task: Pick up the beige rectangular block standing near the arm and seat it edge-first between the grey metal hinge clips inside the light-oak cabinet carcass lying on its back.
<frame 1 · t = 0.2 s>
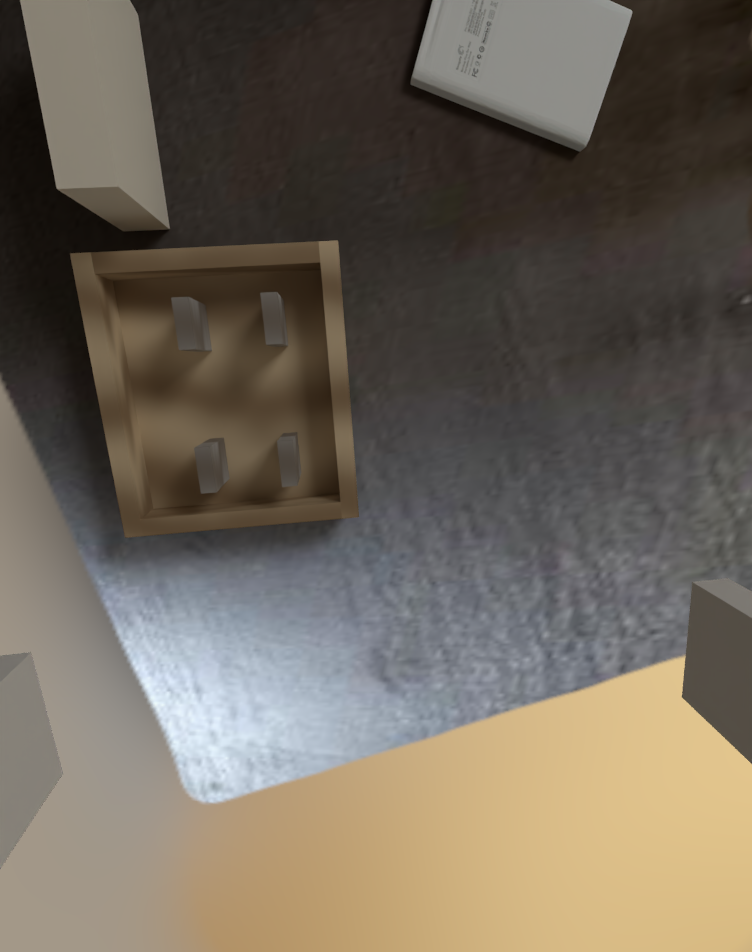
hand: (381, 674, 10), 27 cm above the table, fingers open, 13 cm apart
external hard drive: (513, 58, 32), on the table
carcass: (236, 393, 35), on the table
beige rectangular block: (130, 128, 31), on the table
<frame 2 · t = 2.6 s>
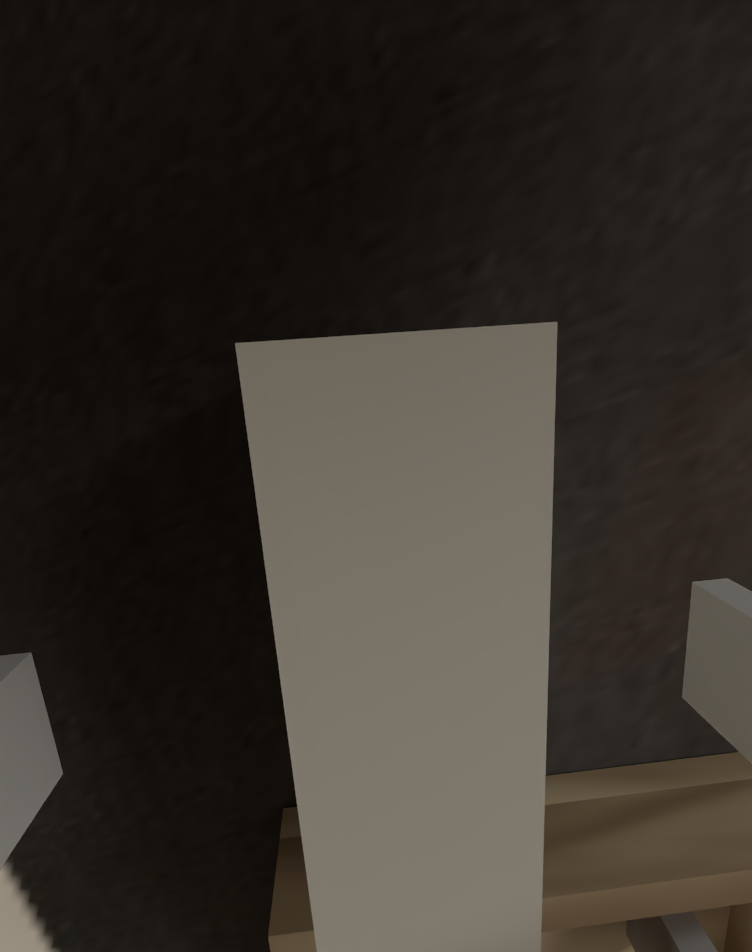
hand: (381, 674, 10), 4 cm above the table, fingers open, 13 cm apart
beige rectangular block: (375, 564, 14), on the table
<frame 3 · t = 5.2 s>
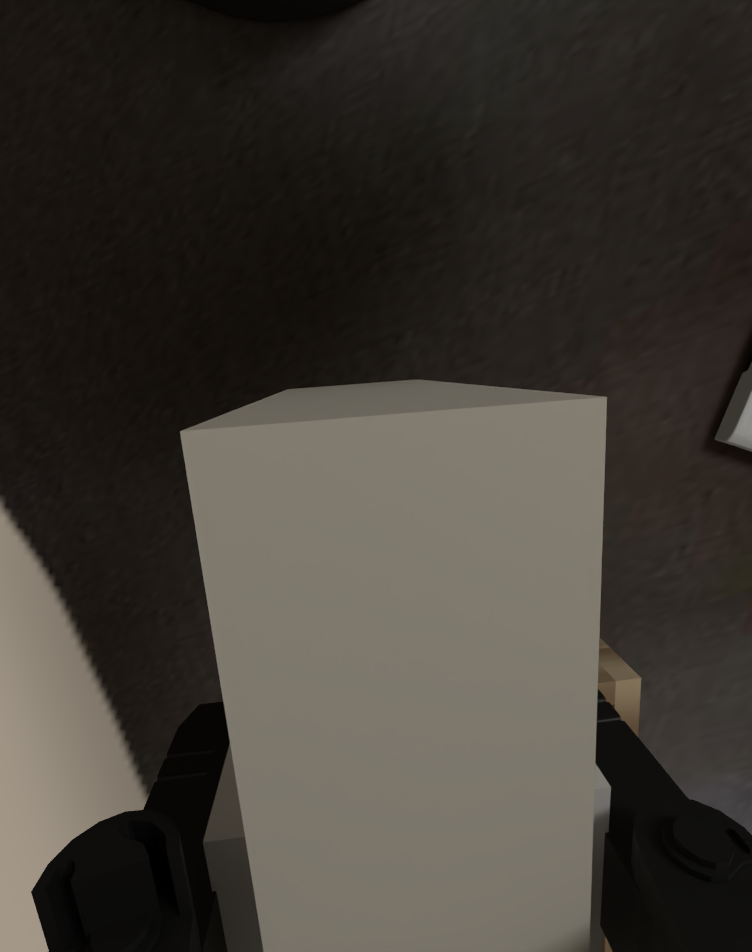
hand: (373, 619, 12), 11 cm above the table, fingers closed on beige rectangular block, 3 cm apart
carcass: (454, 801, 27), on the table
beige rectangular block: (372, 620, 12), point 10 cm above the table, touching gripper
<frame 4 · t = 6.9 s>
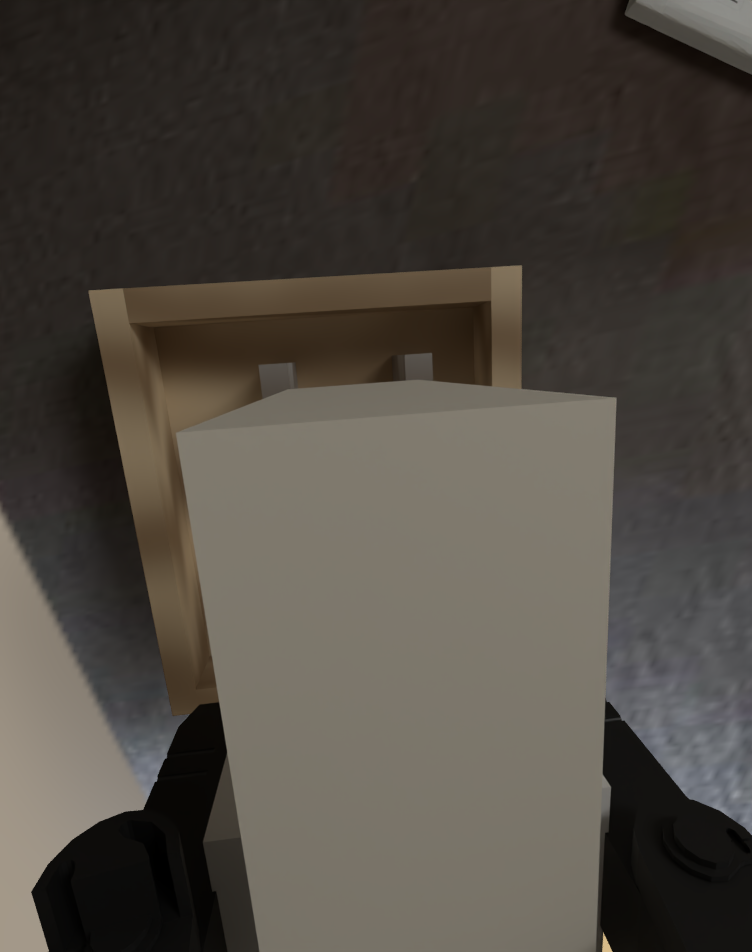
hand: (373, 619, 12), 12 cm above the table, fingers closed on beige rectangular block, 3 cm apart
carcass: (333, 487, 23), on the table
beige rectangular block: (372, 622, 12), point 12 cm above the table, touching gripper
when the fingers open (3 cm above the table, at t = 8.8 s): beige rectangular block drops 1 cm, resting on carcass.
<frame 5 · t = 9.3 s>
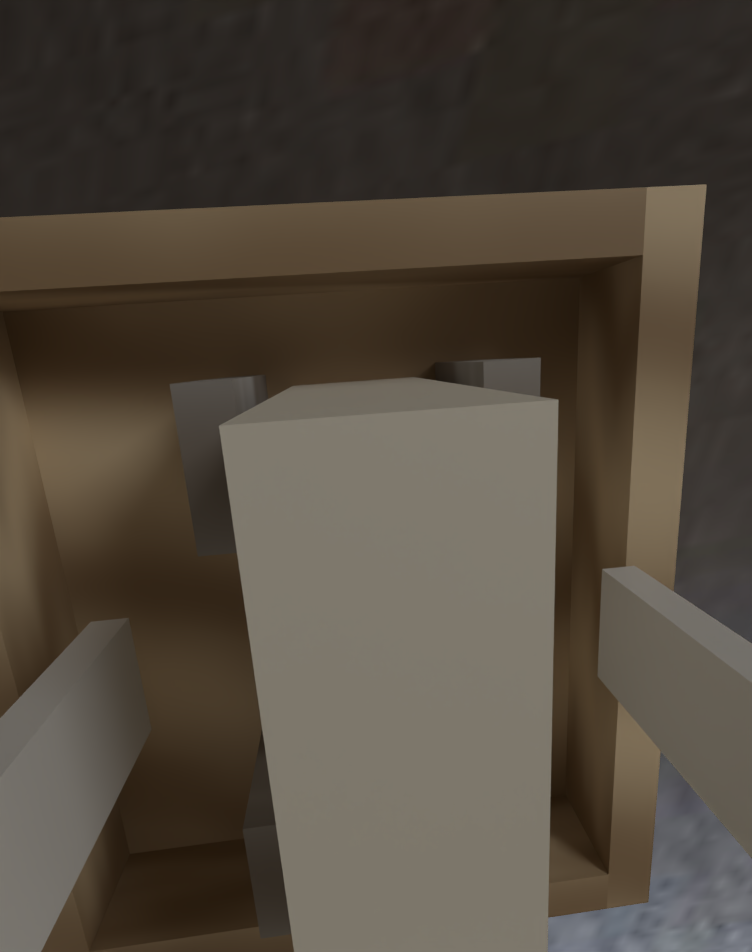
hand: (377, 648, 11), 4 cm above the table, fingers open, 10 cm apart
carcass: (332, 578, 14), on the table
beige rectangular block: (370, 601, 13), point 1 cm above the table, touching carcass
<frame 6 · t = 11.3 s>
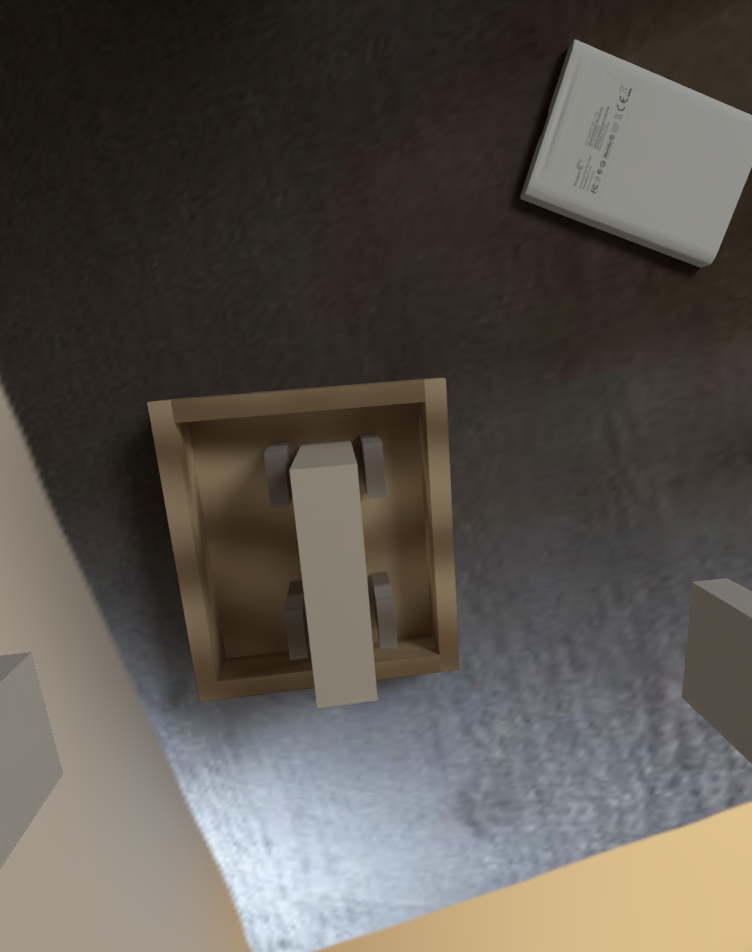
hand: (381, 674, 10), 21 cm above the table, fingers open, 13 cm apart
external hard drive: (630, 168, 29), on the table
carcass: (318, 528, 31), on the table
beige rectangular block: (335, 536, 30), point 1 cm above the table, touching carcass
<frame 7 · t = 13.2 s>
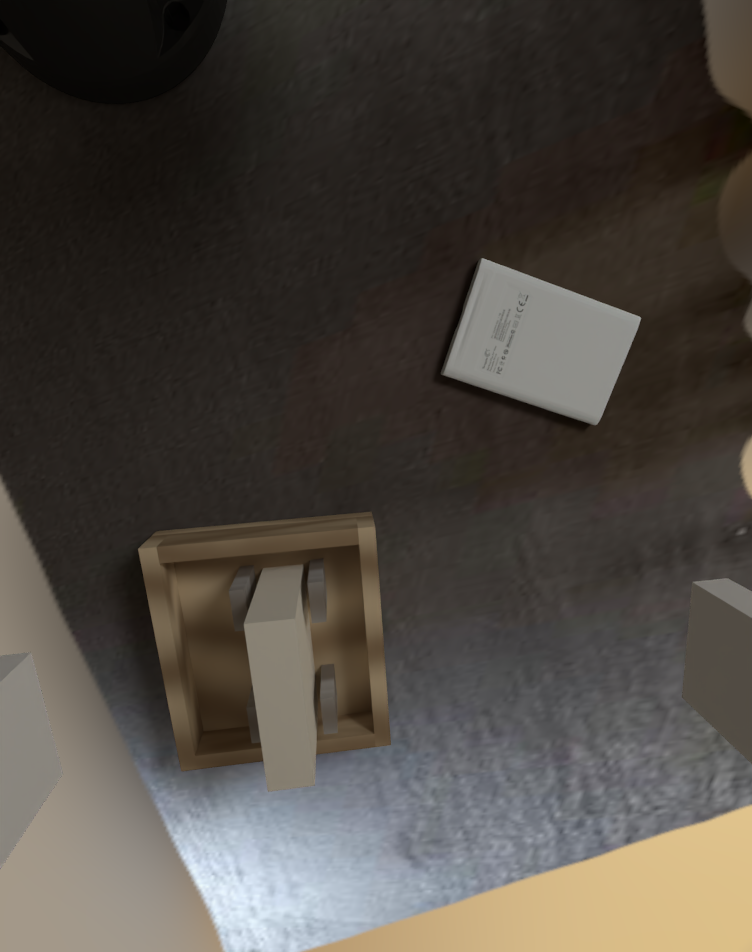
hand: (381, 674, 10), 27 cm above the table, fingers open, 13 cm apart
external hard drive: (533, 346, 36), on the table
carcass: (279, 628, 38), on the table
beige rectangular block: (291, 637, 38), point 1 cm above the table, touching carcass
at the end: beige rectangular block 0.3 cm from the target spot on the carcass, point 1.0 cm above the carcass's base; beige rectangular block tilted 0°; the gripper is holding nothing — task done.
